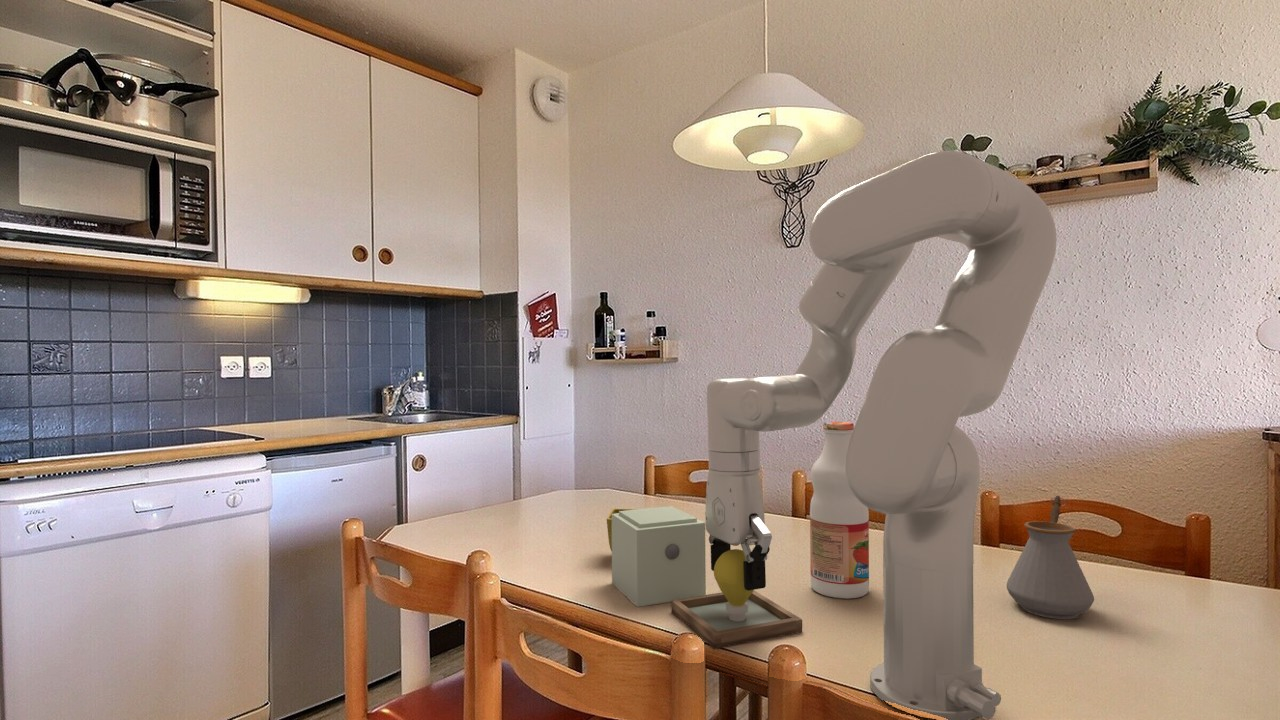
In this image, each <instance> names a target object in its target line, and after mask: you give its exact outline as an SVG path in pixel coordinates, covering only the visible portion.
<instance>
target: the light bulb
mask: <svg viewBox="0 0 1280 720" xmlns="http://www.w3.org/2000/svg"><path fill="white" fill-rule="evenodd" d="M743 561H747V560H746V557H745V555H744V552H743V549H739V548H738V549H737V548H736V549H732V548H731V550H728V551H726V552H724V553H723V554H722V555H721V556H720V557H719V558H718V560H717V561H716V563H715V566H714V571H713V577H714V580H715V581H716V583H717V585H718V587H719V590H720V591H721V592H722V593H723V594H724V596H725V597H726V599H727V600H728V602H727V603H726V611H727V612H728V613H729V619H730V620H732V621H743V620H745V613H747V612H748V604H747V603H746V601H747V599H748V598H749V597H750V595H751V594H752V592H753V590H749V591H748V590H746V589H745V588H744V563H743Z"/></svg>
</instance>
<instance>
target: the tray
mask: <svg viewBox="0 0 1280 720" xmlns="http://www.w3.org/2000/svg"><path fill="white" fill-rule="evenodd" d="M727 602H728V600H727V599H726V597H725V596H724V594H723V593H722V591H721V592H717V593H709V594H706V595H702V596H696V597H689V598H683V599H676V600H671V602H670V604H671V606H670V607H671V609H670V611H671V613H672V614H673V615H674V616H675V617H677V618H678V619H679V620H680V621H681V622H682V623H684V625H686V626H687V627H688V628H689V629H691V630H692V631H693V632H695V634H697V636H699V637H700V638H702V640H704V641H705V642H706V643H707V644H708V645H710V646H711V647H712V648H713V649H715V650H716V649H720V648H725V647H732V646H737V645H742V644H748V643H753V642H758V641H762V640H768V639H773V638H778V637H783V636H784V635H785V636H789V634H790V635H793V634H794V635H795V634H799V633H800V634H801V633H803V618H801V617H799V616H798V615H796V614H794V613H792V612H790V610H788V609H786V608H784V607H783V606H781V605H779V604H778V603H776V602H774V601H773V600H771V599H769V598H768V597H766V596H764V595H763V594H761V593H759V592H758V591H756V590H753V592H752V594H751V595H750V597H749V598H748V599H747V601H746V603H747V604H748V612H747V613H745V620H743V621H732V620H730V619H729V613H728V612H727V611H726V603H727Z"/></svg>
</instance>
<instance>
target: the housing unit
mask: <svg viewBox="0 0 1280 720" xmlns="http://www.w3.org/2000/svg"><path fill="white" fill-rule="evenodd" d="M635 509H636V510H626V511H619V513H616V514H612V552H611V583H612V585H614V586H615V588H617V590H619V591H620V592H621V593H622V594H623V595H624V596H625V597H626V596H627V597H626V598H627V599H628V600H629V601H631V602H632V603H633V604H634V605H635V606H636V607H637V608H640V607H644V606H650V605H651V606H652V605H659V604H664V603H669V602H670V603H671V600H676V599H683V598H689V597H696V596H702V595H707V593H706V589H707V588H706V587H707V586H706V585H707V583H706V580H707V579H706V576H707V574H706V572H707V571H706V569H707V568H706V521H702V520H700V519H698V518H697V517H695V516H693V515H692V514H689V513H687V512H685V511H683V510H681V509H679V508H676V507H674V506H672V505H670V506H659V507H647V508H635Z"/></svg>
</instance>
